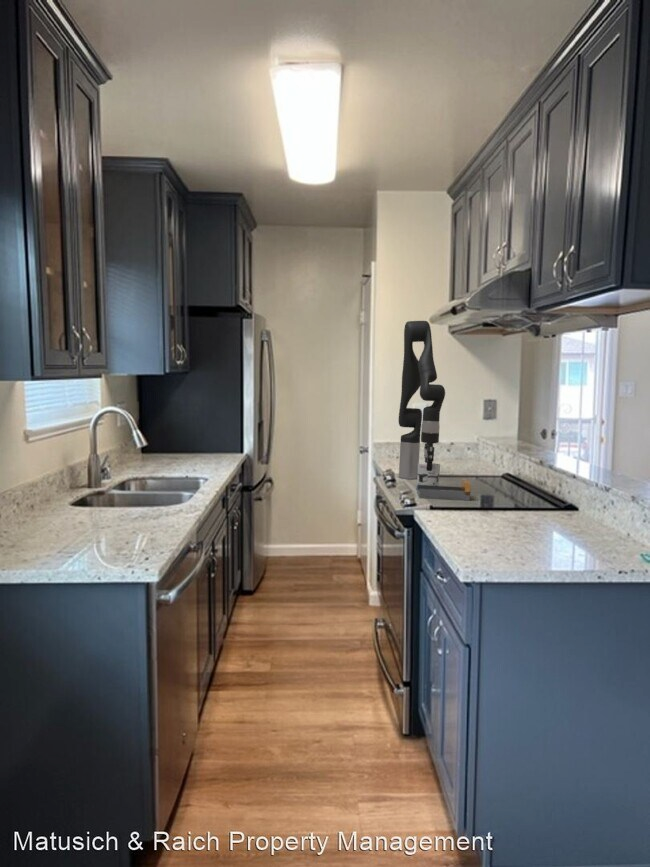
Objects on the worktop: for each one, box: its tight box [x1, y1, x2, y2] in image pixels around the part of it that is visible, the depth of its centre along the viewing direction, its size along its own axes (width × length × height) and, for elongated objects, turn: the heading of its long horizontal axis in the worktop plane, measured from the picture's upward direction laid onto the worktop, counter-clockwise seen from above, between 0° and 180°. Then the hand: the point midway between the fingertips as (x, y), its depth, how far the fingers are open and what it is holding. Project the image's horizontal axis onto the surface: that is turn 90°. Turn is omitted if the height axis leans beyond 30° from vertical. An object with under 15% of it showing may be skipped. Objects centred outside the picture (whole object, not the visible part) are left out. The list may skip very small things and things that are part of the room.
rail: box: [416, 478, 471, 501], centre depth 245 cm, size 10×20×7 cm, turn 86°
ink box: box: [416, 461, 441, 486], centre depth 256 cm, size 8×5×12 cm, turn 62°
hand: (428, 469), depth 255 cm, fingers open, 8 cm apart
